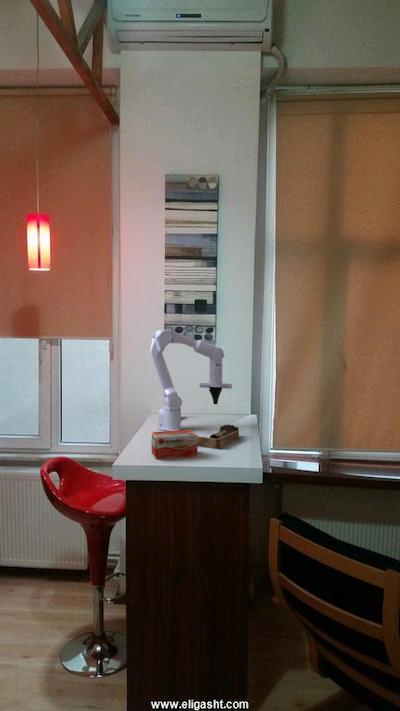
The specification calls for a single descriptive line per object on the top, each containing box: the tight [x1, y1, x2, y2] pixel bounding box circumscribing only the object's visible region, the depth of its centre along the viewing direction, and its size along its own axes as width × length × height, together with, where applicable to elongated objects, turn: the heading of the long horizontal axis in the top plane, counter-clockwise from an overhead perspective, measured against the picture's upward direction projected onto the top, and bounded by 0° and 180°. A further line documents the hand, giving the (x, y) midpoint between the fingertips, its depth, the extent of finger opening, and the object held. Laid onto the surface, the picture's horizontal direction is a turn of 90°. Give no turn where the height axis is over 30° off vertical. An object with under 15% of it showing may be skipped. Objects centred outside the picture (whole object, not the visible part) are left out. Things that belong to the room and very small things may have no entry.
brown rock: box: [209, 424, 240, 439], centre depth 195 cm, size 18×7×6 cm, turn 148°
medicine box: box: [150, 429, 199, 460], centre depth 173 cm, size 15×8×8 cm, turn 106°
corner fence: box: [197, 430, 240, 450], centre depth 192 cm, size 13×18×4 cm
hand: (215, 404), depth 220 cm, fingers closed
